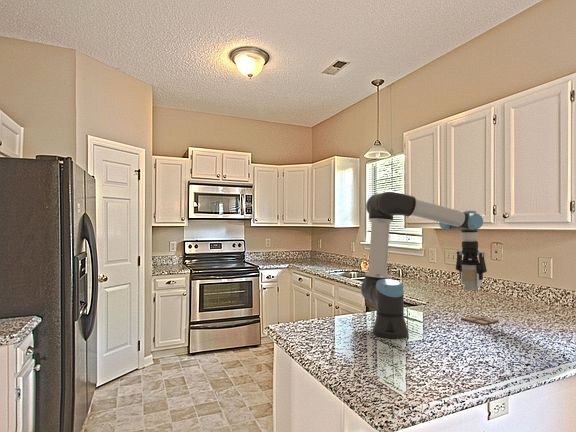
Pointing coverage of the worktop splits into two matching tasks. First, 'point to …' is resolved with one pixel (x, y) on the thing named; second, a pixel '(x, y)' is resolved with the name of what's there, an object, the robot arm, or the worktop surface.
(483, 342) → the worktop surface
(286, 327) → the worktop surface
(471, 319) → the plate
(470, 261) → the coffee cup
